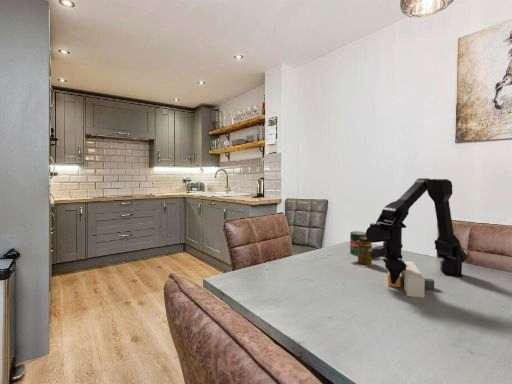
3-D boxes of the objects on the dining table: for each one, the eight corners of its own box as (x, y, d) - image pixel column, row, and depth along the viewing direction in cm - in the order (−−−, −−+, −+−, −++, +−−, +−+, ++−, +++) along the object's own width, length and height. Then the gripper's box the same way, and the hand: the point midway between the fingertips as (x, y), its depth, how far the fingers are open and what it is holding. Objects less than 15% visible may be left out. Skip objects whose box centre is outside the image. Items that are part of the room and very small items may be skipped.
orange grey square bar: (431, 286, 106) (432, 275, 106) (434, 290, 102) (435, 279, 102) (387, 282, 111) (387, 271, 110) (388, 285, 107) (388, 275, 107)
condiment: (375, 264, 133) (376, 238, 133) (364, 267, 129) (364, 240, 128) (362, 260, 139) (362, 235, 139) (350, 263, 135) (350, 237, 134)
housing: (412, 277, 115) (412, 261, 115) (424, 297, 96) (424, 278, 96) (398, 276, 117) (399, 260, 116) (407, 295, 98) (407, 277, 97)
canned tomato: (366, 252, 154) (366, 231, 153) (365, 256, 147) (365, 234, 146) (350, 251, 157) (351, 230, 156) (349, 254, 150) (349, 233, 149)
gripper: (368, 234, 119) (368, 271, 120) (371, 244, 101) (370, 288, 102) (398, 235, 115) (397, 274, 116) (406, 246, 98) (405, 292, 98)
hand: (392, 281), depth 108 cm, fingers closed on orange grey square bar, 4 cm apart
